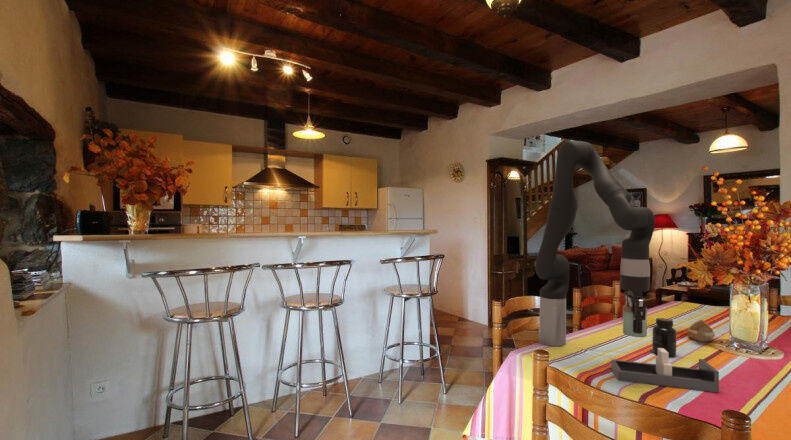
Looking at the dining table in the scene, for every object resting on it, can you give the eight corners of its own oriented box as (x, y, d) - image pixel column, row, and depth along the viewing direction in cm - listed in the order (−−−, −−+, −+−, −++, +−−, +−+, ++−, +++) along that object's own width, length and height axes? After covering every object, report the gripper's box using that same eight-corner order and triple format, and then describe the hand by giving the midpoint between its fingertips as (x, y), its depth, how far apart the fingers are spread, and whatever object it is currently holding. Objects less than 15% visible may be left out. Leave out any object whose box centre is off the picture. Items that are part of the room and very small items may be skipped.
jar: (625, 336, 113) (625, 308, 113) (620, 330, 119) (620, 304, 119) (649, 338, 111) (649, 310, 111) (643, 332, 117) (643, 305, 117)
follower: (663, 381, 110) (663, 354, 110) (655, 372, 117) (655, 346, 116) (671, 382, 109) (672, 355, 109) (663, 372, 116) (663, 346, 116)
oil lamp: (686, 344, 145) (686, 317, 145) (686, 331, 162) (686, 307, 162) (716, 349, 140) (716, 321, 140) (712, 334, 157) (713, 310, 157)
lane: (618, 380, 112) (618, 361, 112) (611, 367, 122) (611, 349, 122) (718, 392, 104) (718, 372, 104) (702, 378, 114) (702, 359, 114)
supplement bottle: (680, 358, 130) (680, 322, 130) (657, 356, 131) (658, 321, 131) (670, 351, 137) (670, 317, 137) (648, 349, 138) (649, 316, 138)
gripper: (657, 278, 107) (656, 338, 107) (642, 271, 121) (642, 324, 121) (626, 276, 109) (626, 335, 110) (615, 270, 123) (615, 322, 123)
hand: (634, 329), depth 115 cm, fingers closed on jar, 6 cm apart
